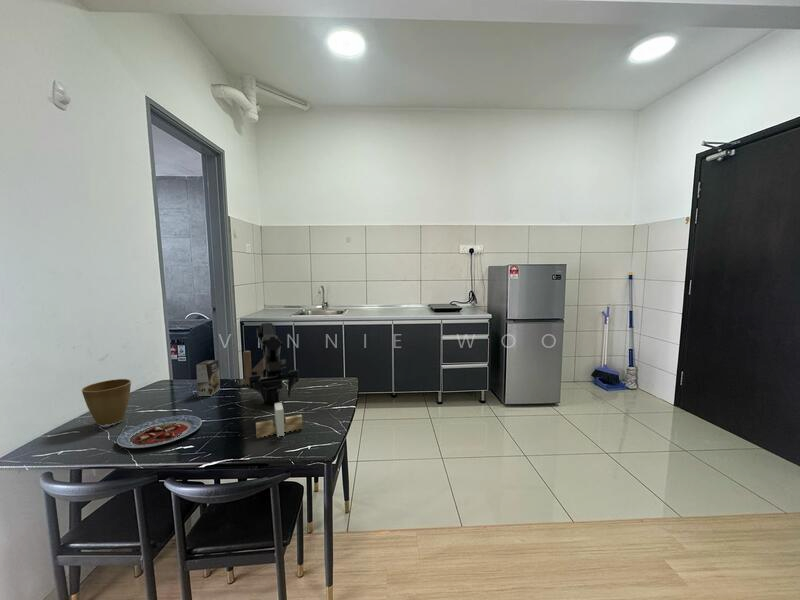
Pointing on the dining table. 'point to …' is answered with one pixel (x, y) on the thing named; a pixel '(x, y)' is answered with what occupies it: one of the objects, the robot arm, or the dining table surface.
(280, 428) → the grey tapered block
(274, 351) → the robot arm
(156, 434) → the ceramic plate
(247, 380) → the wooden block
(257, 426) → the notched base plate
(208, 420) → the dining table surface
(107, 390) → the plant pot
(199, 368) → the coffee box
